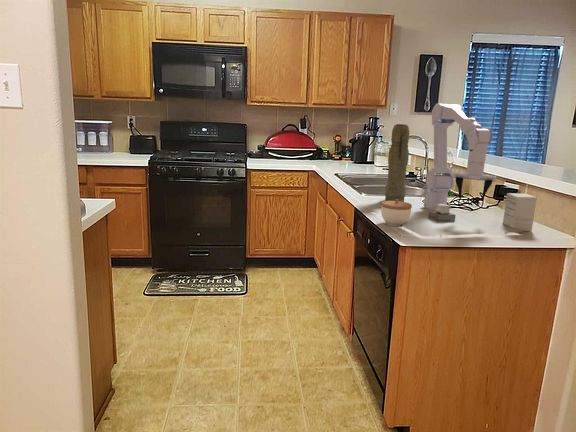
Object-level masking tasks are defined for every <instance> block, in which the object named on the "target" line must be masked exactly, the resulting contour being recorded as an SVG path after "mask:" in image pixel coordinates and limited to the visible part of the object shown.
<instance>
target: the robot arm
mask: <svg viewBox="0 0 576 432" xmlns="http://www.w3.org/2000/svg"><path fill="white" fill-rule="evenodd" d="M454 123H457V124H458V125H459V129H460V131H461V132H462V133H463V134H464V135H465V136H466V137H467V143H468V146H467V148H468V149H469V151H468V158H467V164H466V172H455V171H454V172H453V171H452V170H451V169H450V168H449V167H448V128H449V127H451V126H453V125H454ZM431 126H433V167H432V168H431V169H430V170H428V171H427V176H426V179H425V180H426V181H425V185H426V188H427V190H426V191H425V193H424V198H423V199H424V200H423V207H422V206H421V208H422V209H423V208H427V209H428V210H429V211H435V209H436V204H446V205H448V203H447V202H448V194H449V192H450V191H451V189H453V187H454V185H455V183H456V186H457V191H458V199H462V195H463V183H464V179H465V180H475V181H484V182H483V190H482V195H481V202H483V201H484V200H485V196H486V195H487V192H488V190H489V188H491V186H492V184H493V183H496V182H497V181H496V180H497V175H489V174H484V171H485V163H486V158H487V151H488V150H487V149H488V145H490V144H491V142H492V140H493V132H492V130H491V128H488V127H487V128H485V127H483V126H482V125H481V124H479V122H477V121H476V118H474V117H467V116H466V114H465V112H464V111H463V108H462V106H461V105H460V104H459V103H456V104H455V103H454V104H451V103H450V104H449V103H439V102H438V103H435V105H434V106H433V109H432V110H431ZM454 179H455V180H454Z"/></svg>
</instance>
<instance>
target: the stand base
mask: <svg viewBox="0 0 576 432" xmlns="http://www.w3.org/2000/svg"><path fill="white" fill-rule="evenodd" d="M427 217H428V218H429V219H431V220H433V221H436V222H439V223H440V222H443V223H444V222H455V221H456V214H455V213H452V212H450V211H449V214H438V212H435V210H428V216H427Z"/></svg>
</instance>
